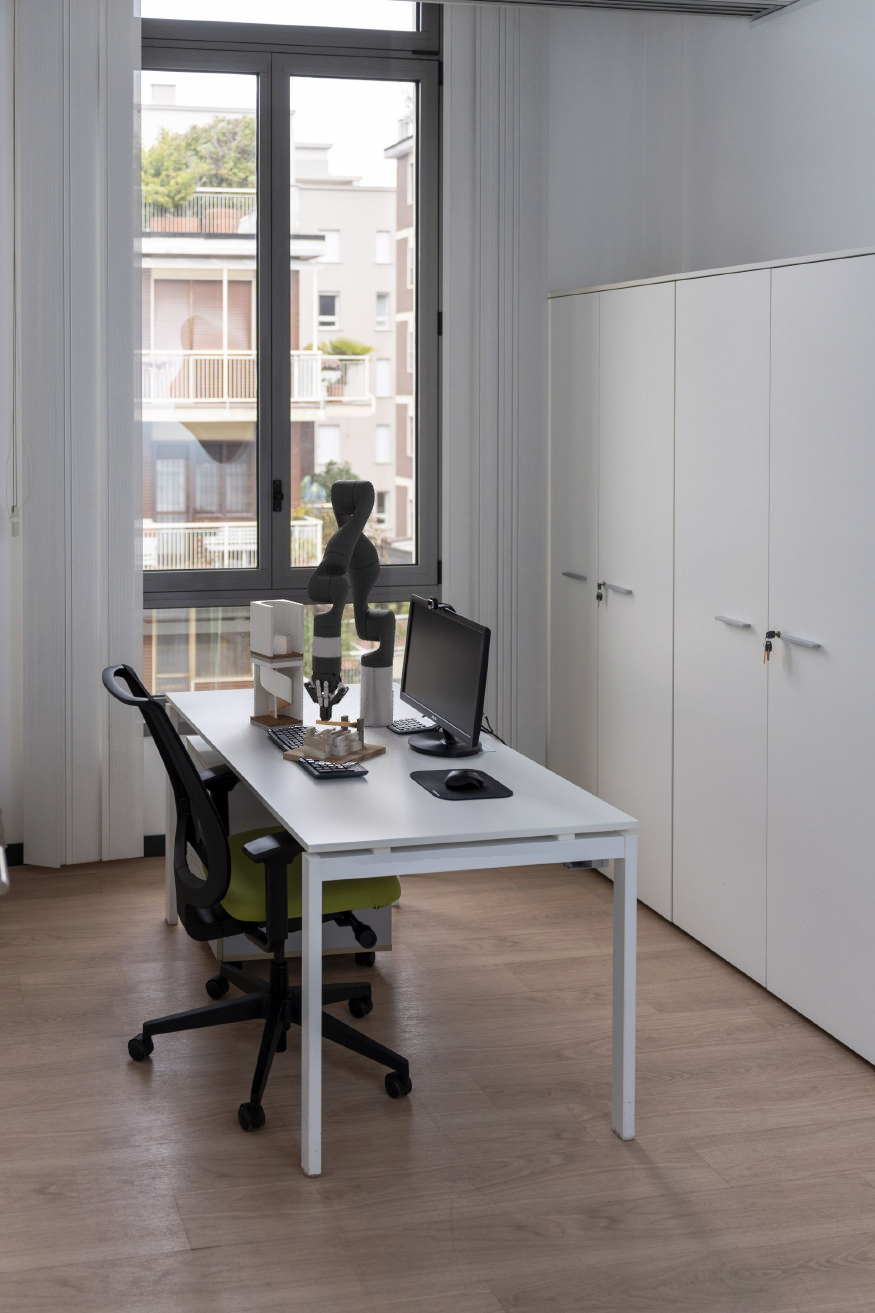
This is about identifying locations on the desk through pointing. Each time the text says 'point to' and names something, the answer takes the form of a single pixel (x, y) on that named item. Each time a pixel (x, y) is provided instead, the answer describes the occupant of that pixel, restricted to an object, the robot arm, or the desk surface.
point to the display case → (277, 663)
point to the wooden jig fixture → (336, 745)
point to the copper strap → (338, 723)
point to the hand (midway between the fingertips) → (325, 720)
